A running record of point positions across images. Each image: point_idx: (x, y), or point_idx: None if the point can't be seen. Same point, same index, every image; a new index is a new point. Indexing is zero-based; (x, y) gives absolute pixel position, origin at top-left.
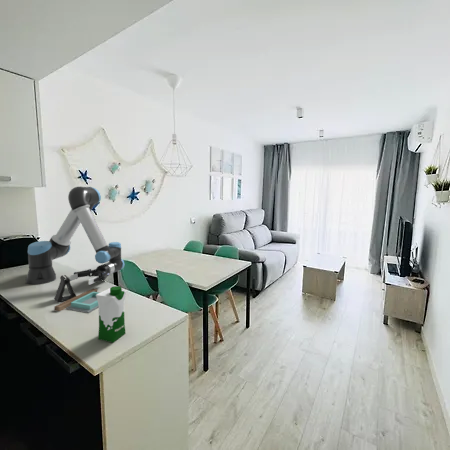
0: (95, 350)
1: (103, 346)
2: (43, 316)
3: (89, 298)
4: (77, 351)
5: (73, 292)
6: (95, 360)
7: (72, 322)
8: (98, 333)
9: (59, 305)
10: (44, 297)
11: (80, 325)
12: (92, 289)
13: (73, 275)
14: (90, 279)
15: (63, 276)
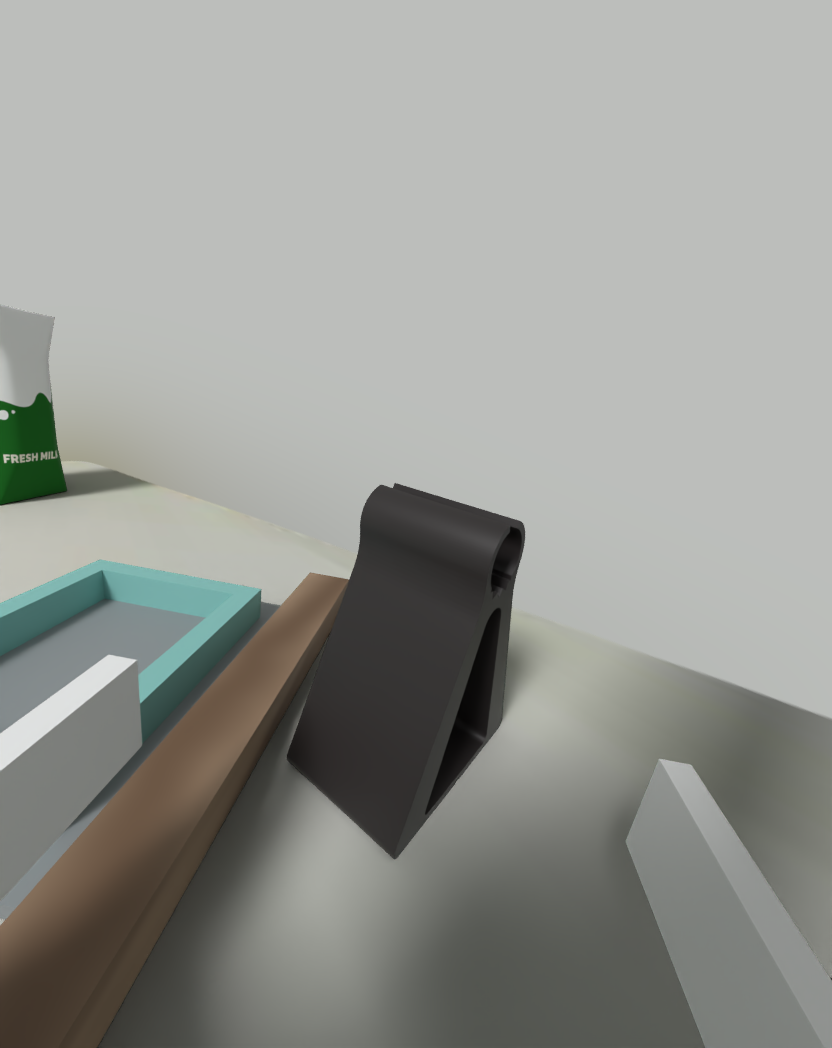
0: (80, 476)
1: None
2: None
3: None
4: (135, 479)
5: (322, 676)
6: (81, 465)
7: (191, 541)
8: (62, 472)
9: (326, 585)
10: (628, 754)
11: (147, 529)
12: (52, 984)
13: (763, 953)
14: (75, 680)
15: (466, 505)
